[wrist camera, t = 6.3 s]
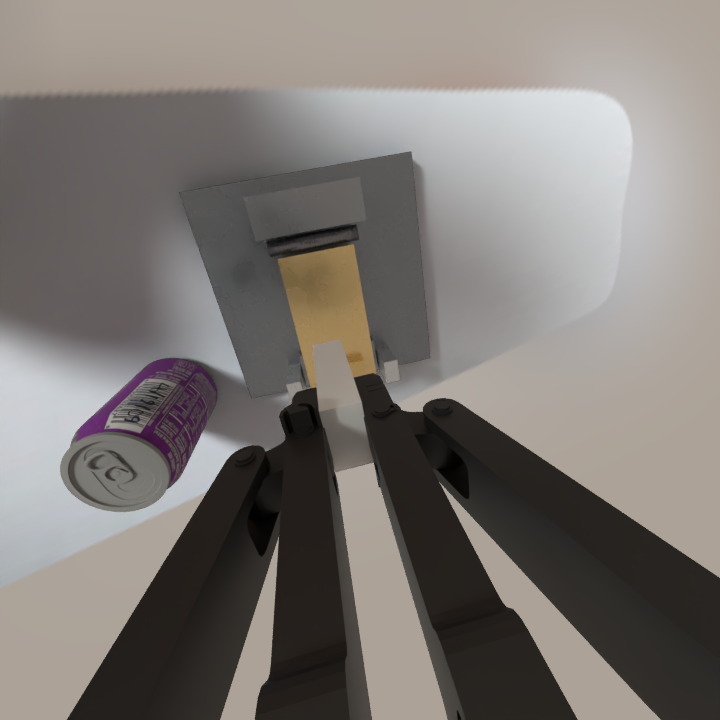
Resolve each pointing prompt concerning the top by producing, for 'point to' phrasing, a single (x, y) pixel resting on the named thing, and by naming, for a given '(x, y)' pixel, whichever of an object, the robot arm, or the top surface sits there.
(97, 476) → the beverage can
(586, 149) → the top surface
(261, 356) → the clamp base
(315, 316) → the tan flat panel
